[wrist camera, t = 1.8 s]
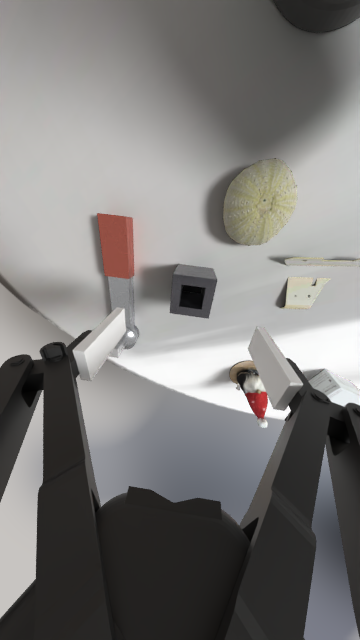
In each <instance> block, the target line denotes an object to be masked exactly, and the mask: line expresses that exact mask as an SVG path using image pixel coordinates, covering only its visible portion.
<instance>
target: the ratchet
mask: <svg viewBox="0 0 360 640" xmlns="http://www.w3.org/2000/svg"><path fill="white" fill-rule="evenodd" d="M97 216H98V224H99V232H100V240H101V248H102V256H103V265H104V273H105V276H108V282H109V291H110V300H111V309H112V312H113V311H114V310H115V309H116V308H117V307H119V308H124V309H125V324H126V332H125V333H124V335H123V336H122V338H121V339H120V341H119V342H118V343H117V345H116V346H115V348H114V349H113V351H112V352H111V353H110V355H109V356H110V357H117V358H118V357H119V356H120V354H121V353H122V351H123V349H130V348H132V347H133V346H134V345H135V343H136V341H137V339H138V337H139V331H138V329H137V327H136V326H135V324H134V297H133V276H134V252H133V221H132V218H131V217H124V216H116V215H108V214H100V213H97Z"/></svg>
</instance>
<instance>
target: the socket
mask: <svg viewBox="0 0 360 640" xmlns="http://www.w3.org/2000/svg"><path fill="white" fill-rule="evenodd" d="M216 283H217V278H216V275H215V272H214V270H213V269H212V268H204V267H197V266H189V265H182V264H178V266H177V268H176V270H175V271H174V273H173V281H172V293H171V304H170V313H174V314H181V315H188V316H195V317H202V318H209V314H210V310H211V305H212V301H213V297H214V292H215V288H216ZM184 285H189V286H197V287H202V290H201V293H194V292H187V291H183V286H184Z"/></svg>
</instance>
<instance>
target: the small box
mask: <svg viewBox="0 0 360 640" xmlns="http://www.w3.org/2000/svg"><path fill="white" fill-rule="evenodd" d="M308 382H309V383H310V384H311V386H312V387H313V388H314V389H317V390H319V391H321V392H322V393H324V394H325V395H326V396H327V397H328V398H329V399H330V400H331V402H333V403H336V404H338V405H341V406H345V405H346V404H347V403H355V404H358V405H360V389H359V388H358V387H357V386H356V385H355V384H354V383H353V382H352V381H350V380H348V379H346V378H344V377H342V376H340V375H337V374H335V373H333V372H331V371H329V370H327V369H324V370H323V371H322V372H320V373H319V374H318V375H316V376H315V377H313V378H312V379H311V380H309V381H308Z"/></svg>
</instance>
